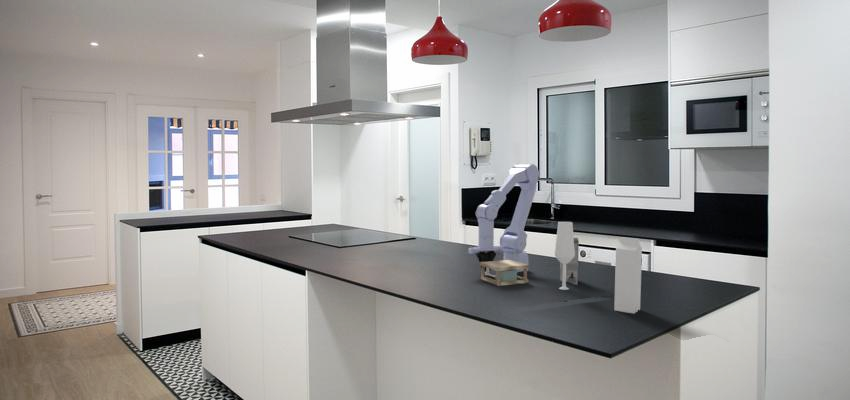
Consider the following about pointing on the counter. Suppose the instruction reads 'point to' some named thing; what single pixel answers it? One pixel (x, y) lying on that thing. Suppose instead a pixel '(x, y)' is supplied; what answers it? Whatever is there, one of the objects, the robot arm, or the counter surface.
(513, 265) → the shelf
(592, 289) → the counter surface
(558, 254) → the champagne flute
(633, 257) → the milk
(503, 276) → the block
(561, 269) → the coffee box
